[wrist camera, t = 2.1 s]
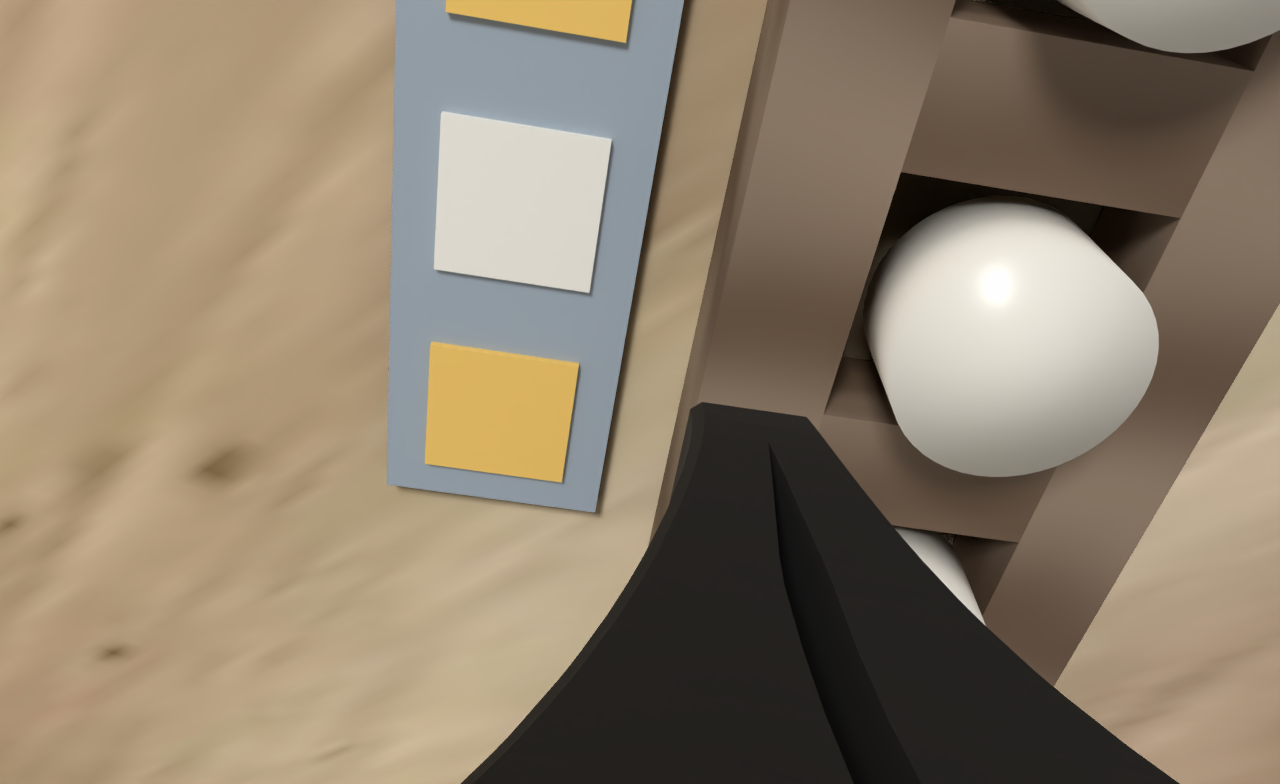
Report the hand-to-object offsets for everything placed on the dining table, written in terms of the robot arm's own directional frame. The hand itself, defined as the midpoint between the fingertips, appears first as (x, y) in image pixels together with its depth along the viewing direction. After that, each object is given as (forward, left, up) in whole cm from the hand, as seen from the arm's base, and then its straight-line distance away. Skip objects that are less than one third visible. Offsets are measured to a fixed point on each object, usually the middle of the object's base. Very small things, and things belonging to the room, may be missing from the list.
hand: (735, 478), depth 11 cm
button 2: (-5, +1, -7) cm, 9 cm away
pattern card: (+4, +1, -9) cm, 10 cm away
